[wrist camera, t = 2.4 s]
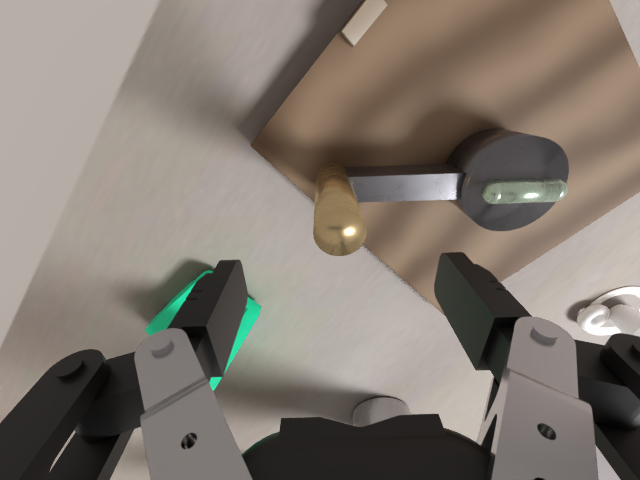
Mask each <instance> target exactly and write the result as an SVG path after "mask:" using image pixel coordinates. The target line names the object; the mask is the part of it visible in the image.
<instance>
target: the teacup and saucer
mask: <svg viewBox="0 0 640 480" xmlns="http://www.w3.org/2000/svg"><path fill="white" fill-rule="evenodd" d="M622 294H633V295H636V296H638V297H639V298H640V287H637V286H629V287H623V288H619V289H615V290H612V291H610V292H608V293H606V294H604V295H602V296H600V297H599V298H597V299H596V300H595V301H593V302H592V303H591V304H590V305H589V306H588V307H587V308H585V309H584V310H583V311H582V312H581V313H580V314H579V315H578V317H577V324H578V326H579V327H580V328H582V329H584V330H585V331H586V332H588V333H590V334H593V335H610V334H615V333H618V332H622V333H623V334H630V335H635V336H639V337H640V310H639V311H637V310H635V309H633V308H631V307H629V306H626V305H622V304H620V305H615V306H613V307H611V308H610V309H608V308H607V307H606V306H603V305H600V304H601V303H602V302H604V301H605V300H607V299H609V298H611V297H614V296H617V295H622ZM608 318H609V320H610V321H611V322H612V323H613V324H614V325H615V326H614V327H609V328H601V327H600V326H601V325H603V324H604V323H605V322H606V321H607V320H608Z"/></svg>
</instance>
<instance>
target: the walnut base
mask: <svg viewBox="0 0 640 480" xmlns="http://www.w3.org/2000/svg"><path fill="white" fill-rule="evenodd" d="M492 128H501V129H506V130H511V131H516V132H521V133H525V134H530V135H535V136H540V137H544V138H548V139H550V140H552V141H554V142H556V143H557V144H558V145H559V146H561V148H562V149H563V150H564V152H565V154H566V156H567V159H568V163H569V174H568V180H567V183H566V184H567V186H568V192H567V194H566V195H565V197H564V198H562V199H561V200H559V201H557V202H556V203H555V204H554V205H553V206H552V207H551V209H550V210H548V211H547V212H546V213H545V214H544V215H543V216H541V217H540V218H539V219H537V220H536V221H534V222H532V223H530V224H528V225H526V226H524V227H522V228H518V229H515V230H510V231H491V230H488V229H485V228H483V227H481V226H479V225H478V224H476V223H475V222H474V221H473V220H472V219H471V218H469V217H468V216H467V215H466V214H465V213H464V212H462V211H461V210H460V209H459V208H458V207H456V206H455V205H454V204H453V203H452V202H451V201H450V200H422V201H392V202H361V203H358V204H359V207H360V210H361V213H362V216H363V219H364V222H365V225H366V229H367V234H366V238H365V241H364V243H363V245H365V246H366V247H367V248H368V249H369V250H370V251H371V252H373V253H374V254H375V255H376V256H377V257H378V258H379V259H381V260H382V261H383V262H384V263H385V264H386V265H387V266H389V267H390V268H391V269H392V270H393V271H394V272H395V273H397V274H398V275H399V276H400V277H401V278H402V279H403V280H405V281H406V282H407V283H408V284H409V285H410V286H412V287H413V288H414V289H415V290H416V291H417V292H418V293H420V294H421V295H422V296H423V297H424V298H425V299H426V300H428V301H429V302H430V303H431V304H432V305H433V306H434V307H436V308H437V309H438V310H439V311H440V312H441V313H442V314H444V312H443V310H442V309H441V307H440V305H439V303H438V301H437V299H436V297H435V293H434V282H435V277H436V272H437V267H438V262H439V258H440V255H441V254H442V253H449V252H463V253H465V254H466V256H467V257H468V258H469V259H470V260H471V261H472V262H473V264H478V265H480V266H482V267H483V268H485V269H487V270H488V271H490V272H491V273H492V274H493V275H494V276H495V277H496V278H497V279H498V280H499V283H500V282H501V281H503V280H504V279H506V278H508V277H509V276H511V275H512V274H514V273H515V272H517V271H518V270H520V269H521V268H523V267H525V266H526V265H528V264H529V263H531V262H532V261H534V260H535V259H537V258H538V257H540V256H541V255H543V254H545V253H546V252H548V251H549V250H551V249H552V248H554V247H555V246H557V245H558V244H560V243H562V242H563V241H565V240H566V239H568V238H569V237H571V236H572V235H574V234H575V233H577V232H579V231H580V230H582V229H583V228H585V227H586V226H588V225H589V224H591V223H592V222H594V221H596V220H597V219H599V218H600V217H602V216H603V215H605V214H606V213H608V212H609V211H611V210H612V209H614V208H616V207H617V206H619V205H620V204H622V203H623V202H625V201H626V200H628V199H629V198H631V197H633V196H634V195H636V194H637V193H639V192H640V68H639V66H638V63H637V61H636V59H635V57H634V54H633V52H632V50H631V48H630V46H629V43H628V41H627V39H626V37H625V34H624V32H623V30H622V28H621V25H620V23H619V21H618V19H617V16H616V14H615V12H614V10H613V7H612V5H611V3H610V1H609V0H363V1H362V2H361V3H360V5H359V6H358V7H357V9H356V10H355V11H354V12H353V14H352V15H351V16H350V18H349V19H348V20H347V21H346V23H345V24H344V25H343V27H342V28H341V29H340V30H339V32H338V33H337V34H336V36H335V37H334V38H333V39H332V41H331V42H330V43H329V45H328V46H327V47H326V48H325V50H324V51H323V52H322V54H321V55H320V56H319V57H318V59H317V60H316V61H315V63H314V64H313V65H312V66H311V68H310V69H309V70H308V71H307V73H306V74H305V75H304V77H303V78H302V79H301V80H300V82H299V83H298V84H297V86H296V87H295V88H294V89H293V91H292V92H291V93H290V95H289V96H288V97H287V98H286V100H285V101H284V102H283V104H282V105H281V106H280V107H279V109H278V110H277V111H276V113H275V114H274V115H273V116H272V118H271V119H270V120H269V122H268V123H267V124H266V125H265V127H264V128H263V129H262V131H261V132H260V133H259V134H258V136H257V137H256V138H255V140H254V141H253V142H252V143H251V145H250V146H251V147H252V148H254V149H255V150H256V151H257V152H258V153H259V154H260V155H262V156H263V157H264V158H265V159H266V160H267V161H268V162H270V163H271V164H272V165H273V166H274V167H275V168H276V169H278V170H279V171H280V172H281V173H282V174H283V175H284V176H286V177H287V178H288V179H289V180H290V181H291V182H292V183H294V184H295V185H296V186H297V187H298V188H299V189H300V190H302V191H303V192H304V193H305V194H306V195H307V196H308V197H310V198H311V199H312V200H313V201H314V202H315V191H316V176H317V173H318V171H319V169H320V168H321V167H322V166H324V165H325V164H328V163H338V164H341V165H342V166H344V167H362V166H391V165H420V164H446V162H447V160H448V158H449V156H450V155H451V153H452V152H453V151H454V149H455V148H456V147H457V146H458V145H459V144H460V143H461V142H462V141H464V140H465V139H466V138H468V137H469V136H471V135H473V134H475V133H477V132H480V131H482V130H486V129H492ZM444 315H445V314H444Z"/></svg>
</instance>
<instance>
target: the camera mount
mask: <svg viewBox="0 0 640 480" xmlns="http://www.w3.org/2000/svg"><path fill="white" fill-rule="evenodd" d="M206 273H213V271H210V270H208V271H204V272H203V273H202V274H201V275H200V276H198V277H197V278H196V279H195V280H194V281H193V280H192V281H191V282H190V283H189V284H188V285H187V286H186V287H185V288H184V289H182V290H181V291H180V292H179V293H178V294H177V295H176V296H175V297H174V298H173V299H172V300H171V301H170V302H169V303H168V304H167V306H166V307H165V308H164V309H163V310H162V311H161V312H159V313H158V314H157V315H156V316H155V317H154V318H153V320H152V321H151V322H150V324H149V325H148V326H147V328H146V332H147V333H148V334H149V335H150V336H151V335H153V334H155V333H157V332H159V331H161V330H165V329H167V328H168V326H169V324H170V323H171V321H172V320H173V318H174V316H175V315H176V313H177V312H178V310H179V309H180V307H181V305H182V304H183V302H184V301H186V297H187V296H188V294H189V293H191V289H192V288H193V286H194V285H195V283H196V282H197V281H198V280H199V279H200V278H201V277H203V276H204V275H205V274H206ZM260 309H261V306H260V305H258V304H257V303H256V302H254V301H253V300H252V299H250V298H249V297H248V299H247V305H246V309H245V312H244V315H243V318H242V321H241V324H240V327H239V330H238V333H237V336H236V339H235V342H234V345H233V348H232V351H231V354H230V357H229V360H228V363H227V366H226V369H225V372H226V370H227V368H228V367H229V365H230V363H231V361H232V360H233V358H234V356H235V355H236V353H237V351H238V350H239V348H240V346H241V345H242V343H243V341H244V340H245V338H246V336H247V335H248V333H249V331H250V330H251V328H252V326H253V324H254V323H255V321H256V319H257V318H258V316H259V313H260ZM225 372H224V373H225ZM221 378H222V377H211V379H210V382H209V384H210V386H211V388H212V390H213V391H214V390H215V388H216V387H217V385H218V383H219V382H220V380H221Z"/></svg>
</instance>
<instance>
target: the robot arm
mask: <svg viewBox="0 0 640 480" xmlns="http://www.w3.org/2000/svg"><path fill="white" fill-rule="evenodd" d="M434 293H435V297H436V299H437V301H438V303H439V305H440V307H441V309H442V310H443V312H444V314H445V316H446V318H447V319H448V321H449V323H450V325H451V327H452V328H453V330H454V332H455V334H456V336H457V337H458V339H459V341H460V343H461V344H462V346H463V348H464V350H465V352H466V353H467V355H468V357H469V359H470V361H471V362H472V364H473V366H474V368H475V370H490V371H491V372H492V374H493V378H492V381H491V384H490V389H489V393H488V397H487V402H486V406H485V410H484V415H483V419H482V423H481V428H480V431H479V435H478V438H477V441H476V442H475V441H473V440H471V439H470V438H468V437H466V436H464V435H462V434H460V433H457V432H455V431H452V430H449V429H446V428H443V425H442V423H441V420H440V417H439V414H418V415H411V413H410V410H409V408H408V406H407V405H406V404H405V403H404V402H402V401H400V400H397V399H394V398H386V397H383V398H374V399H370V400H367V401H365V402H363V403H361V404H359V405H358V406H357V407H356V408H355V409H354V411H353V415H352V418H353V426H352V425H348V424H344V423H340V422H337V421H333V420H329V419H325V418H321V417H309V418H281V424H280V432H277V433H274V434H271V435H269V436H267V437H265V438H263V439H262V440H260V441H258V442H257V443H255V444H254V445H253V446H251V447H250V448H249V449H248V450H246V451H245V452H244V453H243V454H242V455H241V453H240V451H239V448H238V446H237V444H236V442H235V439H234V437H233V435H232V433H231V430H230V428H229V426H228V424H227V422H226V419H225V417H224V415H223V413H222V410H221V408H220V406H219V404H218V401H217V399H216V397H215V395H214V392H213V390H212V388H211V386H210V384H209V382H210V379H211V377H223V375H224V372H225V369H226V366H227V363H228V360H229V357H230V354H231V351H232V348H233V345H234V342H235V339H236V336H237V333H238V330H239V327H240V324H241V321H242V318H243V315H244V312H245V309H246V305H247V299H248V293H247V287H246V282H245V277H244V273H243V268H242V264H241V261H240V260H221V261H219V262H218V264H217V266H216V268H215V269H214V271H213V273H206V274H205V275H204V276H203V277H201V278H200V279H199V280H198V281H197V282H196V283H195V285H194V286H193V288H192V289H191V293H189V294H188V296H187V297H186V301H184V302H183V304H182V305H181V307H180V309H179V310H178V312H177V313H176V315H175V316H174V318H173V320H172V321H171V323H170V324H169V326H168V328H167V329H165V330H161V331H159V332H157V333H155V334H153V335H151V336H149V337H148V338H147V339H145V340H144V341H143V342H142V343H141V344H140V345H139V347H138V348H137V350H136V352H133V353H129V354H126V355H122V356H118V357H115V358H111V359H108V360H106V359H105V358H104V356H103V354H102V353H101V352H100V351H98V350H94V349H89V350H83V351H79V352H76V353H74V354H71V355H69V356H67V357H65V358H63V359H62V360H60V361H59V362H57V363H56V364H55V365H53V366H52V367H51V368H50V369H49V370H48V371H47V372H46V373H45V374H44V375H43V376H42V377H41V378H40V379H39V380H38V382H37V383H36V384H35V385H34V386H33V387H32V388H31V389H30V391H29V392H28V393H27V394H26V395H25V396H24V397H23V398H22V400H21V401H20V402H19V403H18V404H17V405H16V406H15V407H14V408H13V410H12V411H11V412H10V413H9V414H8V415H7V416H6V417H5V419H4V420H3V421H2V422H1V423H0V480H110V478H111V476H112V474H113V472H114V470H115V468H116V465H117V463H118V461H119V459H120V457H121V455H122V453H123V451H124V449H125V447H126V445H127V443H128V441H129V439H130V437H131V435H132V432H133V430H134V429H135V428H138V427H141V428H142V434H143V439H144V445H145V451H146V456H147V462H148V467H149V473H150V478H151V480H599V479H598V468H597V459H596V458H597V457H596V447H595V444H596V446H597V447H598V449H599V450H600V451H601V452H602V454H603V456H604V457H605V458H606V460H607V461H608V462H609V464H610V465H611V467H612V468H613V469H614V471H615V472H616V473H617V475H618V476H619V478H620V479H621V480H640V337H639V336H635V335H630V334H614V335H612V336H611V337H610V338H609V340H608V341H607V343H606V344H605V346H604V345H599V344H594V343H589V342H584V341H579V340H574V339H573V338H572V336H571V335H570V334H569V333H568V332H567V331H565V330H564V329H563V328H561V327H560V326H558V325H556V324H555V323H552V322H550V321H548V320H545V319H542V318H538V317H532V316H531V315H530V314H529V313H528V312H527V310H526V309H525V308H524V307H523V306H522V305H521V304H520V303H519V302H518V301H517V300H516V299H515V298H514V297H513V295H512V294H511V293H510V292H509V291H508V290H506V288H505V287H504V286H503V285H502V284H501V283H499V280H498V279H497V278H496V277H495V276H494V275H493V274H492V273H491V272H490V271H488V270H487V269H485V268H483V267H482V266H480V265H478V264H473V262H472V261H471V260H470V259H469V258H468V257H467V256H466V254H465V253H463V252H449V253H442V254H441V255H440V258H439V262H438V267H437V272H436V277H435V282H434ZM74 430H75V432H76V433H75V434H74V436H73V437H72V439H71V440H70V442H69V443H68V445H67V446H66V448H65V449H64V451H63V453H62V454H61V456H60V457H59V459H58V460H57V462H56V463H55V465H54V466H53V468H52V469H51V471H50V468H51V466H52V464H53V462H54V460H55V458H56V457H57V455H58V454H59V452H60V451H61V449H62V448H63V446H64V444H65V443H66V441H67V440H68V438H69V437H70V435H71V434H72V432H73V431H74Z"/></svg>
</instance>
